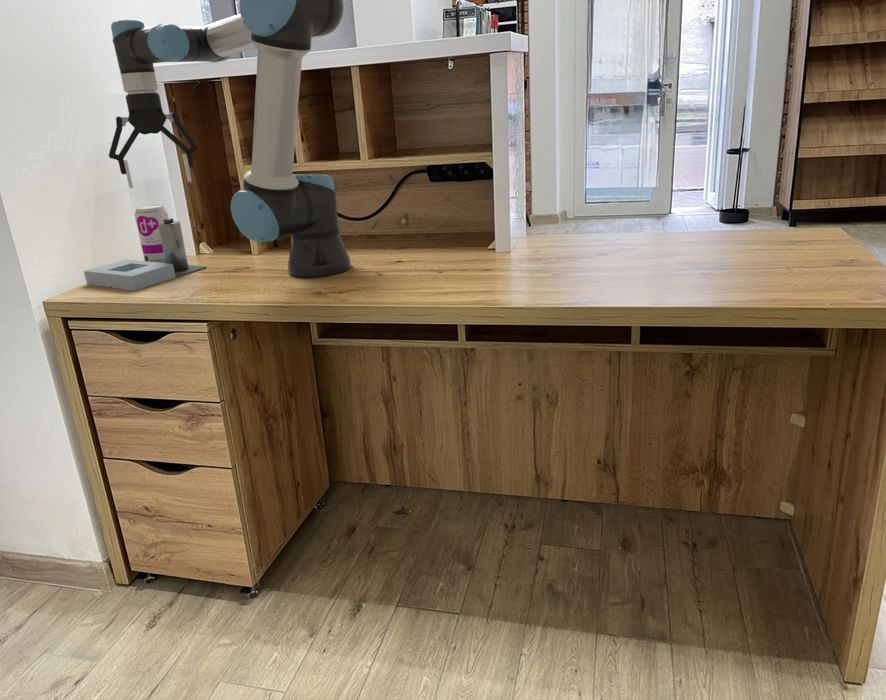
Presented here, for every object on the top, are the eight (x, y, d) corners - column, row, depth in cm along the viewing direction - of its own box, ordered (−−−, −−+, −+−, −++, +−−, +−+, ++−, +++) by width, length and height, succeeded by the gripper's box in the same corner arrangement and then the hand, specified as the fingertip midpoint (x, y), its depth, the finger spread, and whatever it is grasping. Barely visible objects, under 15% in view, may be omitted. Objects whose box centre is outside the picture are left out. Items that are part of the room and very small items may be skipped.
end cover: (193, 268, 181) (183, 217, 176) (177, 272, 177) (166, 221, 172) (179, 266, 183) (169, 217, 179) (163, 271, 179) (152, 220, 175)
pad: (206, 268, 182) (206, 266, 182) (175, 277, 174) (175, 276, 174) (180, 265, 186) (180, 264, 186) (149, 274, 178) (148, 273, 178)
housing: (175, 277, 174) (172, 264, 172) (134, 290, 164) (131, 276, 163) (128, 272, 182) (125, 259, 181) (87, 284, 173) (83, 270, 172)
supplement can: (166, 265, 188) (154, 209, 183) (139, 265, 190) (126, 210, 185) (182, 257, 196) (171, 203, 191) (156, 258, 198) (145, 204, 192)
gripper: (194, 89, 173) (210, 177, 180) (84, 97, 163) (105, 189, 171) (198, 88, 166) (215, 179, 174) (83, 96, 157) (106, 192, 164)
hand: (160, 184), depth 172 cm, fingers open, 13 cm apart
